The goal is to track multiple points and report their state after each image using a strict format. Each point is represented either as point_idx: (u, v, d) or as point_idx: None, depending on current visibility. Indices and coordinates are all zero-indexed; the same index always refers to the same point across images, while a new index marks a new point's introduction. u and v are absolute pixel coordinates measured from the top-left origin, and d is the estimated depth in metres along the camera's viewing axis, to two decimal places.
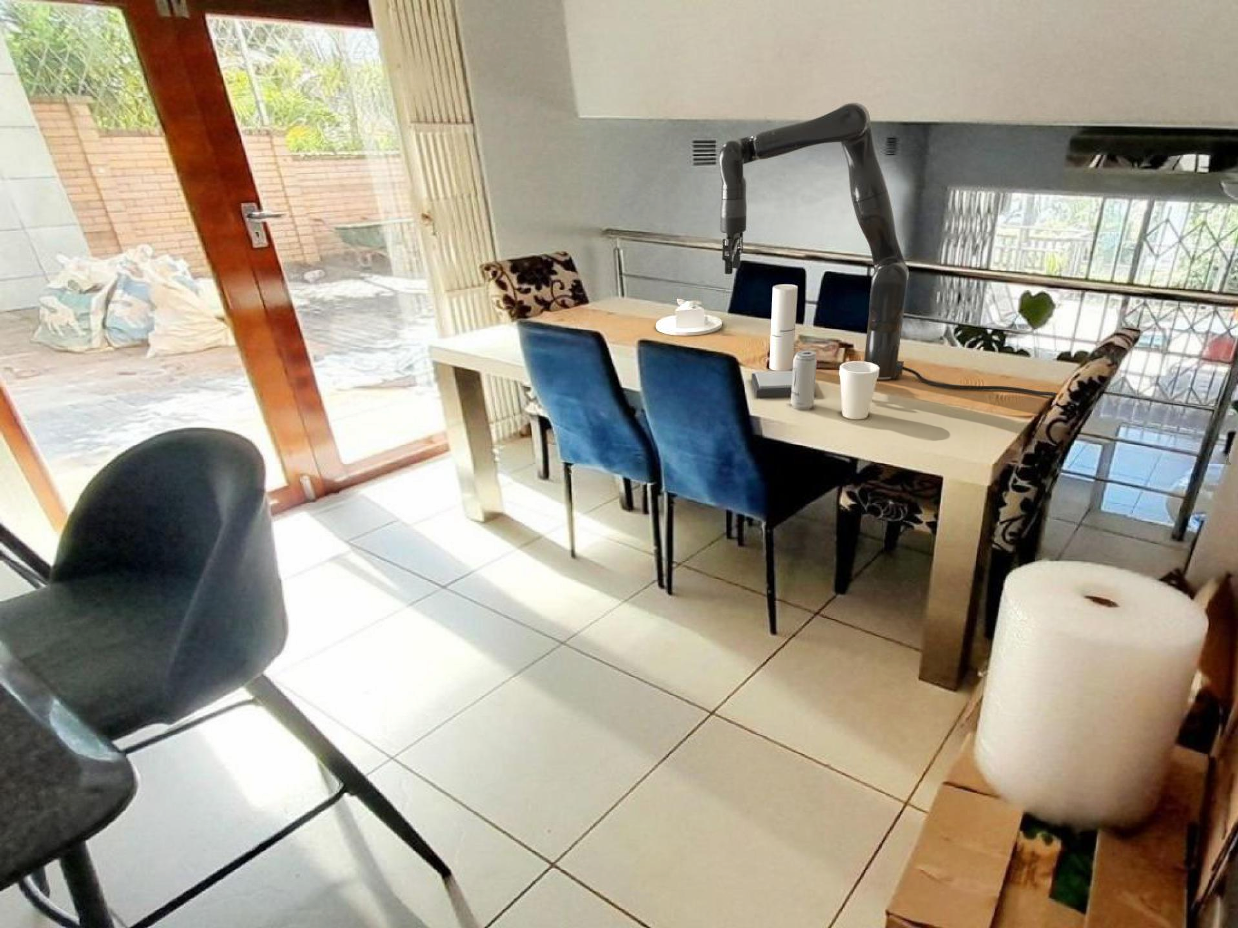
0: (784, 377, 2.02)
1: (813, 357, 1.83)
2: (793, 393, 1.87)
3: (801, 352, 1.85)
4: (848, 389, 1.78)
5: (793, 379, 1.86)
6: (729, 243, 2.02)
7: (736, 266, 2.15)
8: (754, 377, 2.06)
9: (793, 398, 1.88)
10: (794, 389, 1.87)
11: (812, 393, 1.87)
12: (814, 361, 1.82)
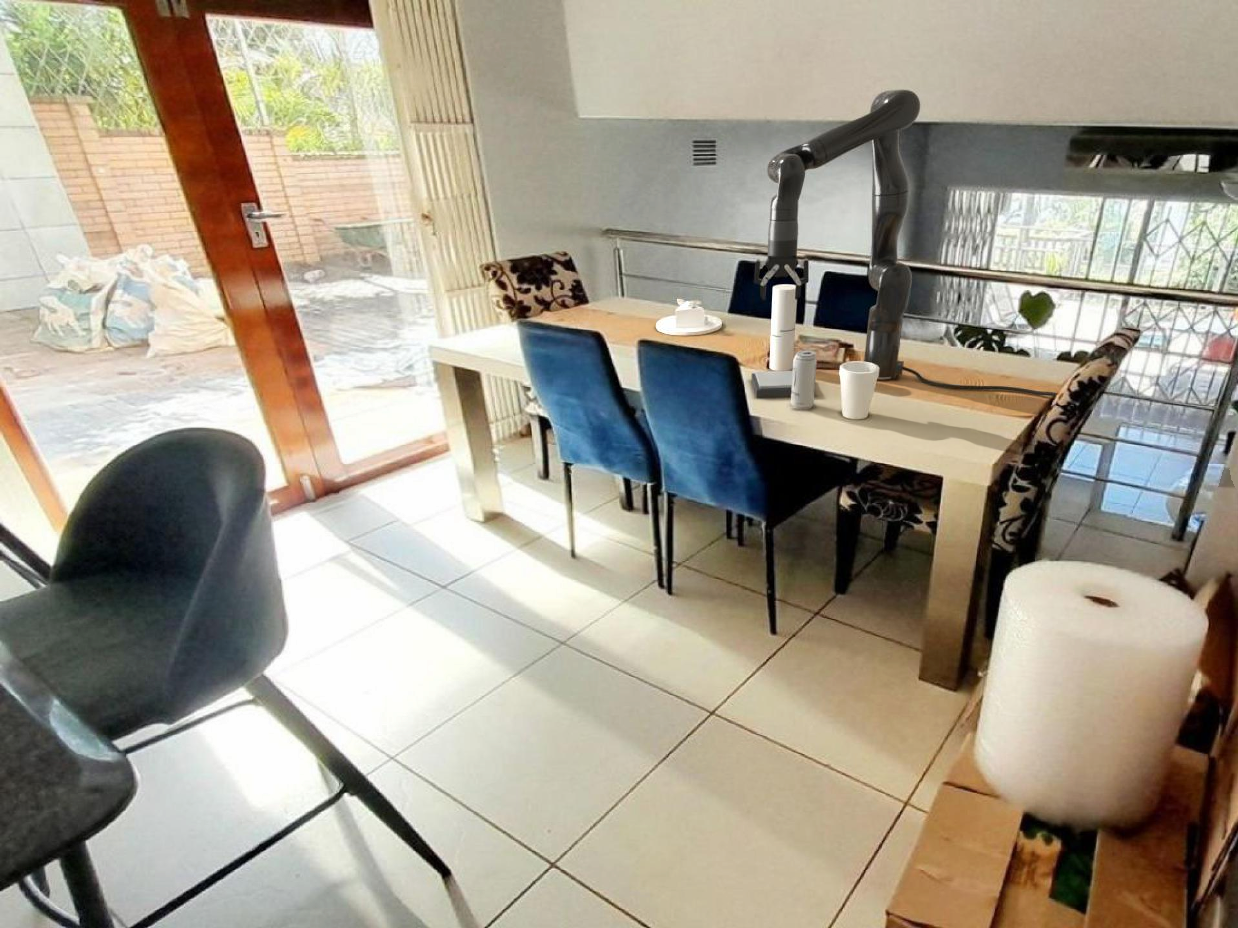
0: (784, 377, 2.02)
1: (813, 357, 1.83)
2: (793, 393, 1.87)
3: (801, 352, 1.85)
4: (848, 389, 1.78)
5: (793, 379, 1.86)
6: (755, 265, 1.87)
7: (795, 296, 1.89)
8: (754, 377, 2.06)
9: (793, 398, 1.88)
10: (794, 389, 1.87)
11: (812, 393, 1.87)
12: (814, 361, 1.82)
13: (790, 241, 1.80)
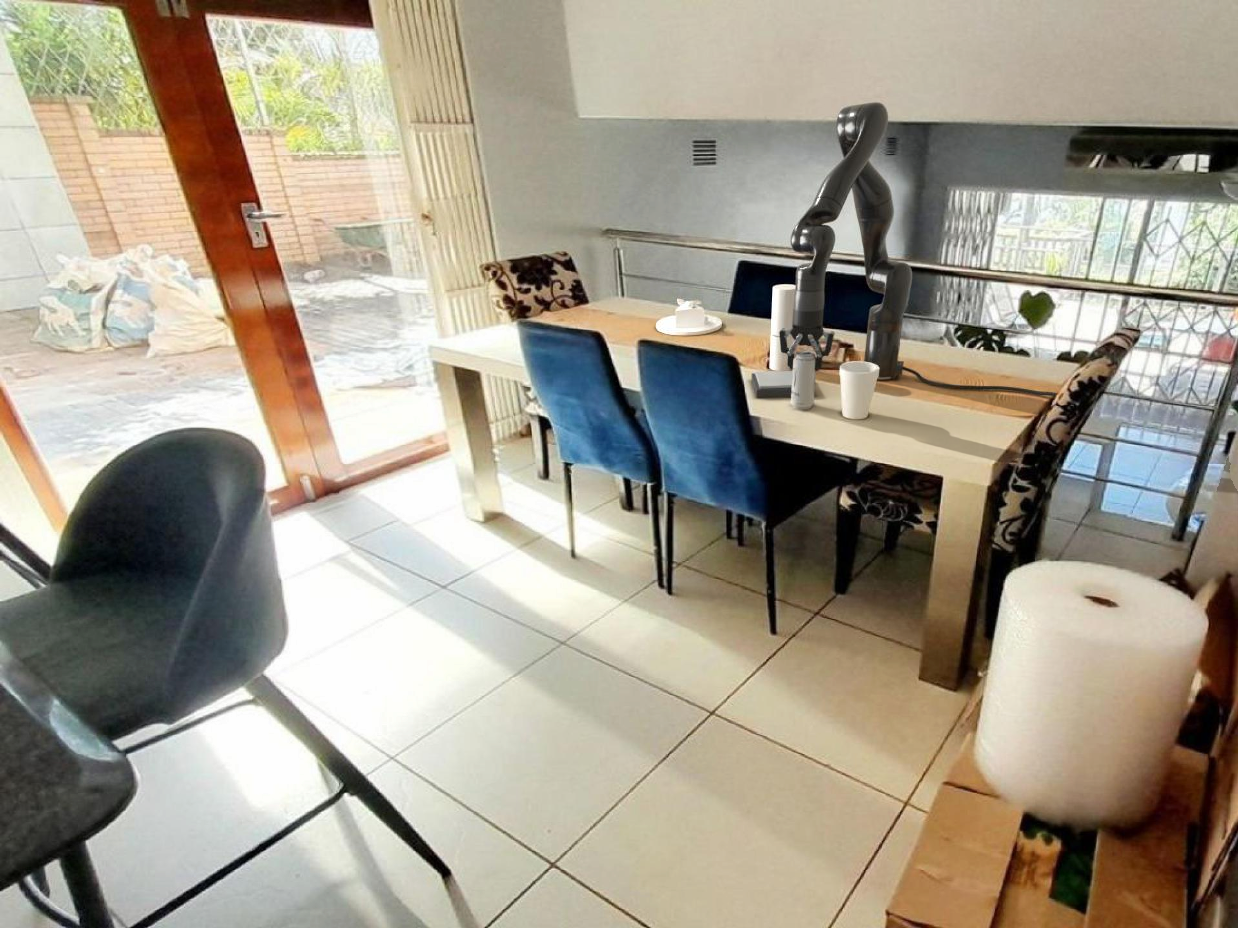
0: (784, 377, 2.02)
1: (813, 357, 1.83)
2: (793, 393, 1.87)
3: (801, 352, 1.85)
4: (848, 389, 1.78)
5: (793, 379, 1.86)
6: None
7: None
8: (754, 377, 2.06)
9: (793, 398, 1.88)
10: (794, 389, 1.87)
11: (812, 393, 1.87)
12: (814, 361, 1.82)
13: (813, 312, 1.75)
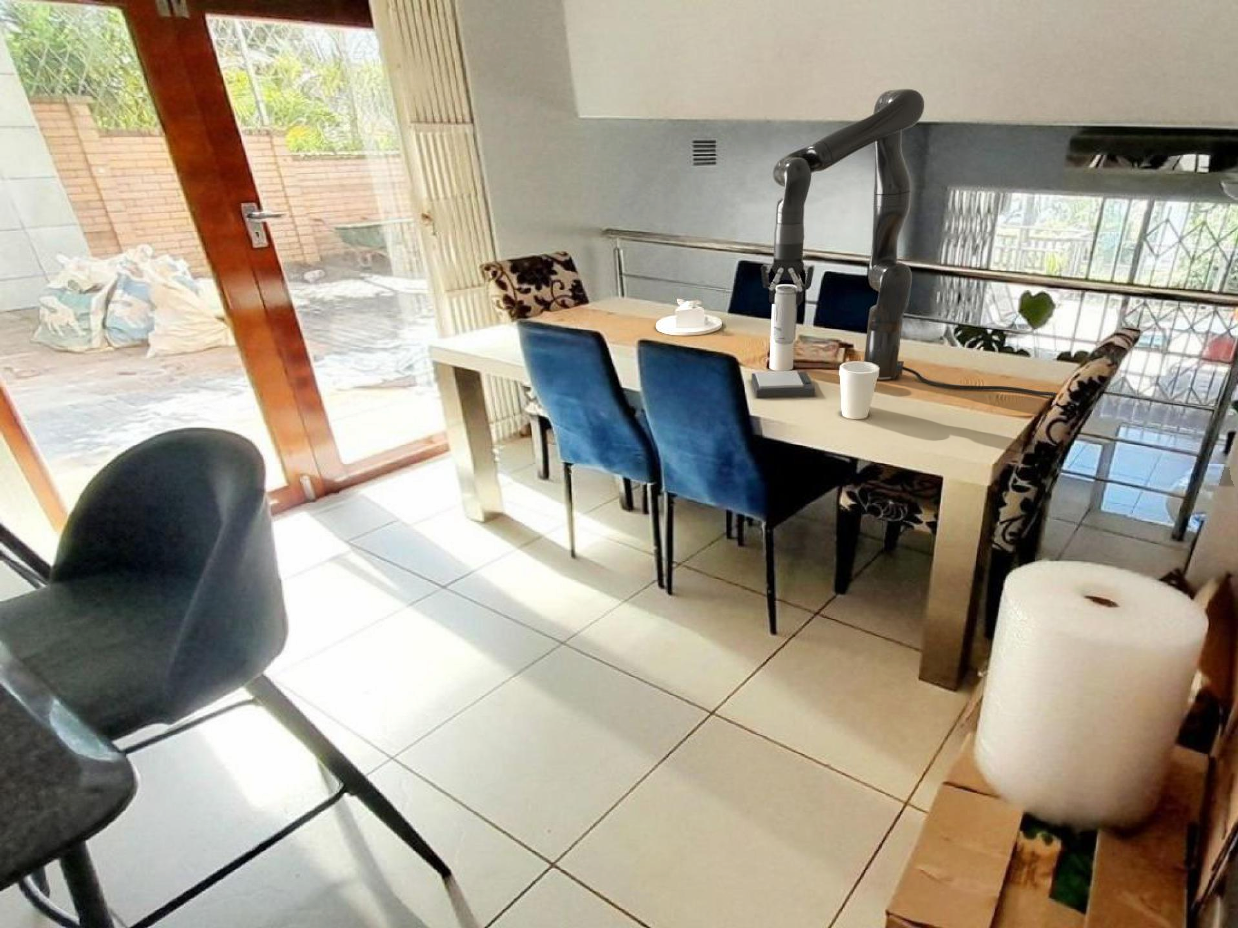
0: (784, 377, 2.02)
1: (794, 291, 1.87)
2: (775, 328, 1.92)
3: (782, 287, 1.89)
4: (848, 389, 1.78)
5: (775, 314, 1.91)
6: None
7: None
8: (754, 377, 2.06)
9: (775, 333, 1.93)
10: (776, 324, 1.92)
11: (793, 328, 1.91)
12: (795, 295, 1.87)
13: (793, 245, 1.80)
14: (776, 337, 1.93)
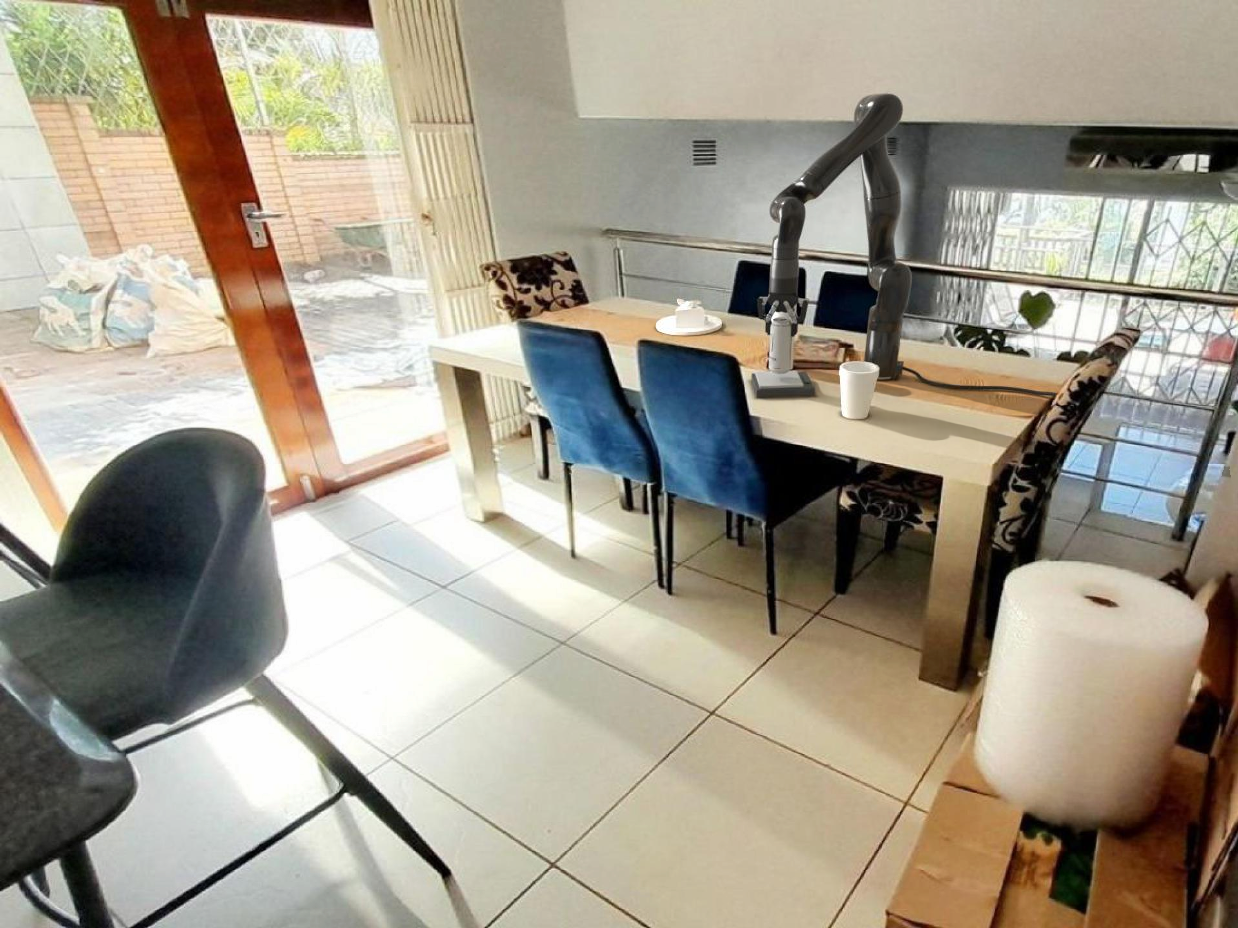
0: (784, 377, 2.02)
1: (789, 323, 1.93)
2: (771, 358, 1.98)
3: (778, 319, 1.95)
4: (848, 389, 1.78)
5: (770, 345, 1.97)
6: None
7: None
8: (754, 377, 2.06)
9: (771, 363, 1.99)
10: (771, 354, 1.97)
11: (788, 358, 1.97)
12: (790, 327, 1.93)
13: (788, 279, 1.86)
14: (771, 367, 1.99)
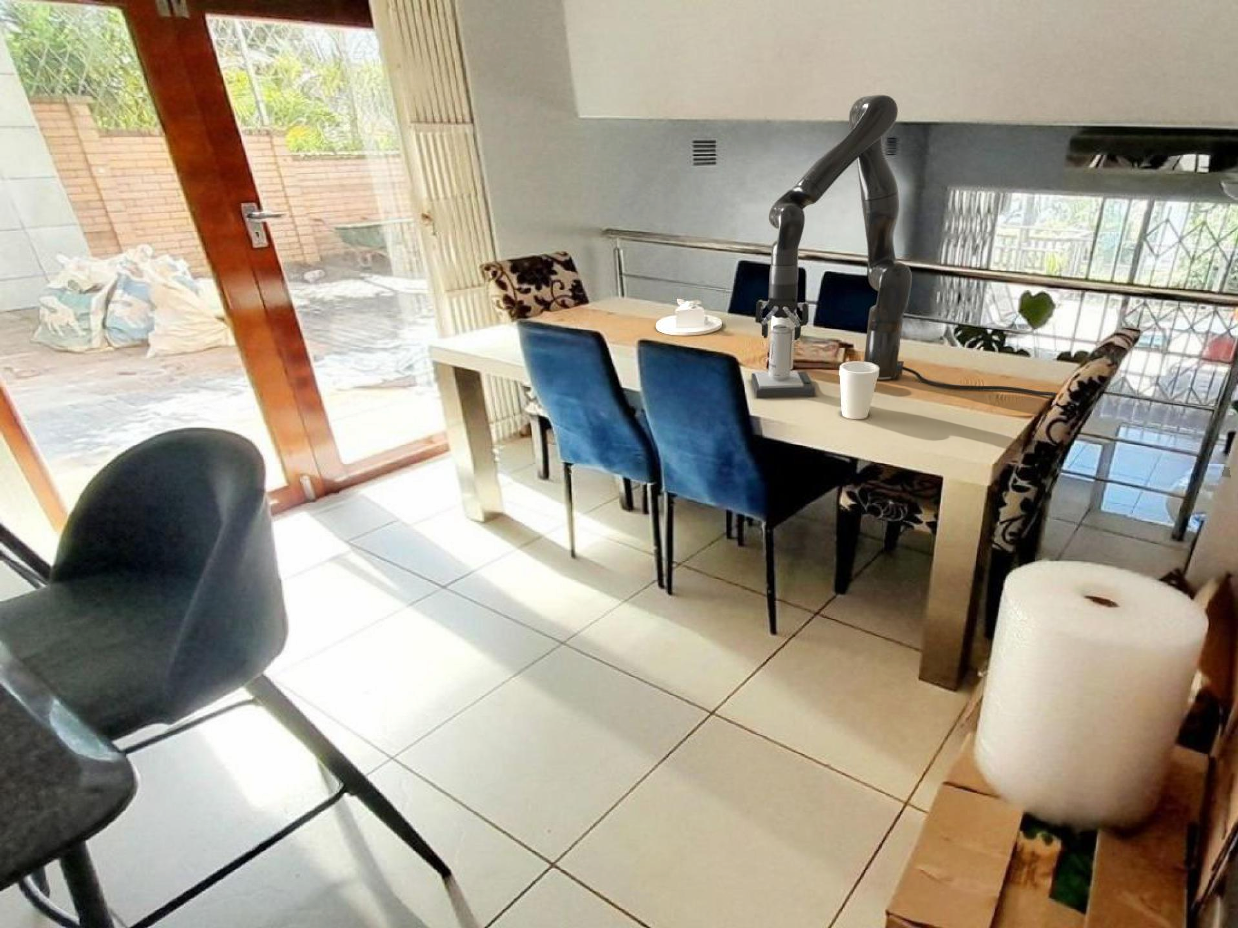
0: None
1: (788, 330, 1.94)
2: (771, 365, 1.99)
3: (777, 326, 1.96)
4: (848, 389, 1.78)
5: (770, 352, 1.98)
6: None
7: None
8: (754, 377, 2.06)
9: (770, 370, 2.00)
10: (771, 361, 1.98)
11: (788, 365, 1.98)
12: (789, 334, 1.94)
13: (788, 285, 1.86)
14: (771, 373, 2.00)
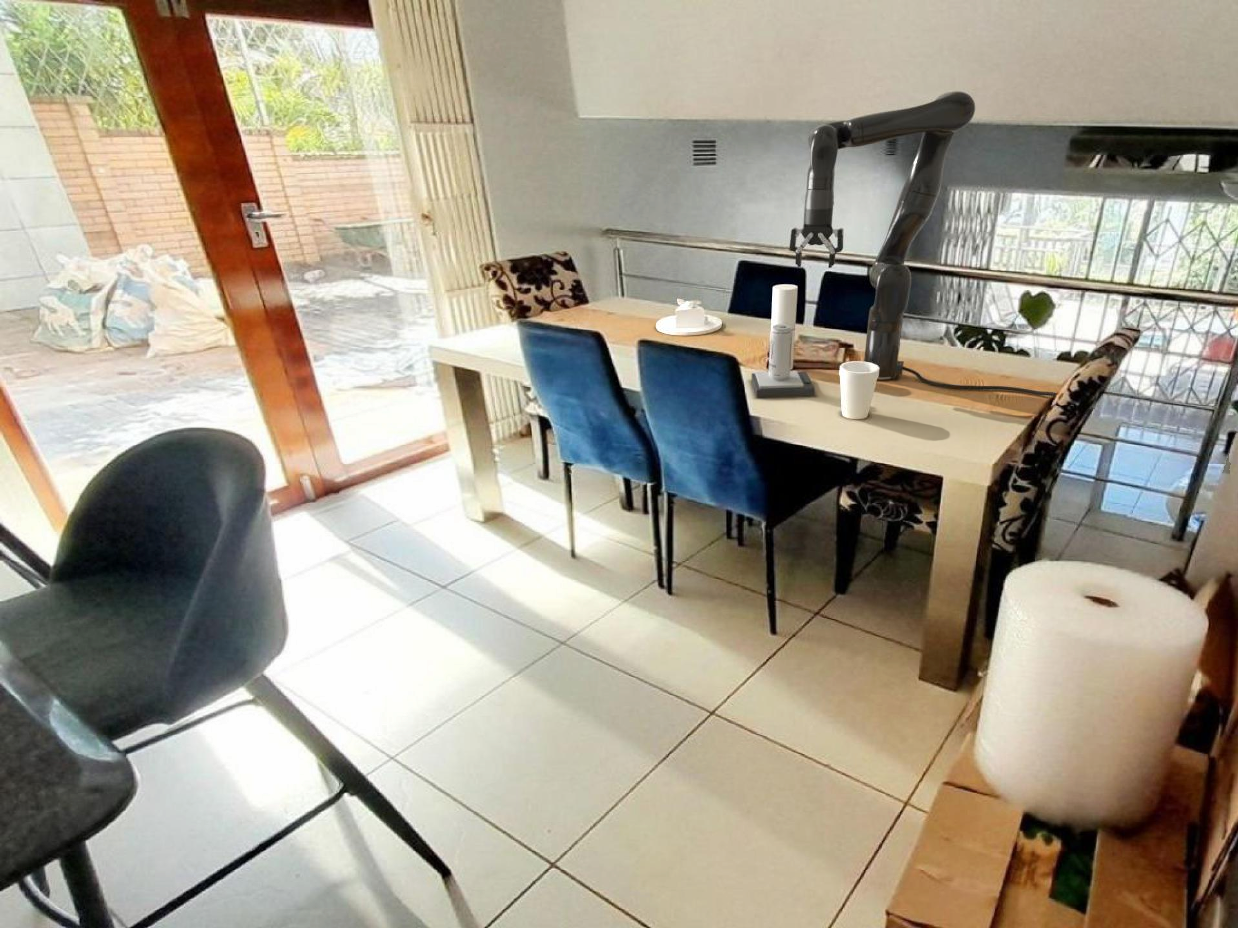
0: None
1: (788, 330, 1.94)
2: (771, 365, 1.99)
3: (777, 326, 1.96)
4: (848, 389, 1.78)
5: (770, 352, 1.98)
6: None
7: (829, 265, 1.96)
8: (754, 377, 2.06)
9: (770, 370, 2.00)
10: (771, 361, 1.98)
11: (788, 365, 1.98)
12: (789, 334, 1.94)
13: (824, 210, 1.87)
14: (771, 373, 2.00)
